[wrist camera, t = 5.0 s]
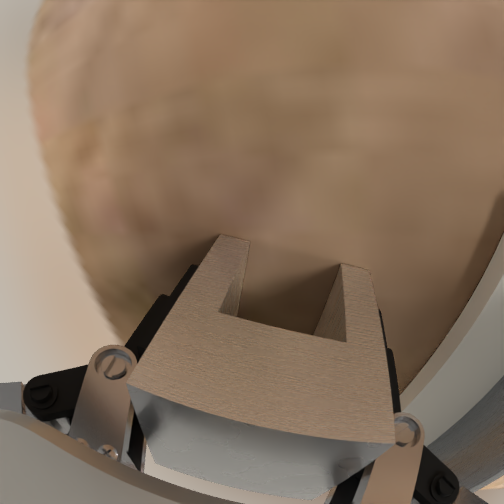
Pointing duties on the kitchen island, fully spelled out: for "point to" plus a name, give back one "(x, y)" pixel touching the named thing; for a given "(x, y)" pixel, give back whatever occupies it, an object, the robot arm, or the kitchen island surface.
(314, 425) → the clip
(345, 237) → the kitchen island surface
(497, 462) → the rail
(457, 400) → the base board
